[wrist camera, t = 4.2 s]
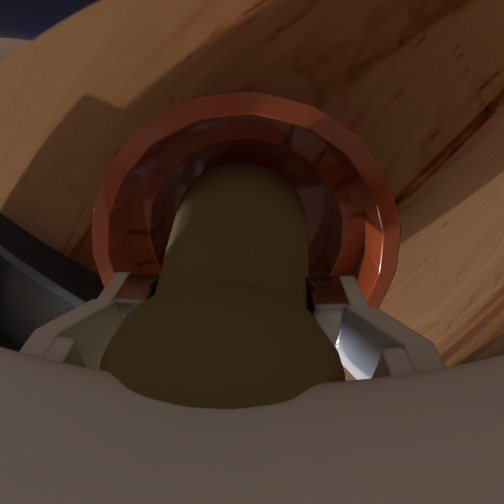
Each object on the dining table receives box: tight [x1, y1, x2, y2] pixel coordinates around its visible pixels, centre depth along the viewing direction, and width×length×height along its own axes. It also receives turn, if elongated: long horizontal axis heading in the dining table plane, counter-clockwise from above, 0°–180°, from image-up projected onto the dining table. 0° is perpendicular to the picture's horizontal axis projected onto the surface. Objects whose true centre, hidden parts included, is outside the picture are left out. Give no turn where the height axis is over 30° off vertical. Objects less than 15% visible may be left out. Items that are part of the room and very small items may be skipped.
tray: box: [0, 214, 104, 352], centre depth 20 cm, size 18×14×3 cm
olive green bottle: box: [99, 162, 345, 409], centre depth 9 cm, size 6×6×11 cm
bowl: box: [92, 91, 401, 308], centre depth 14 cm, size 13×13×5 cm
